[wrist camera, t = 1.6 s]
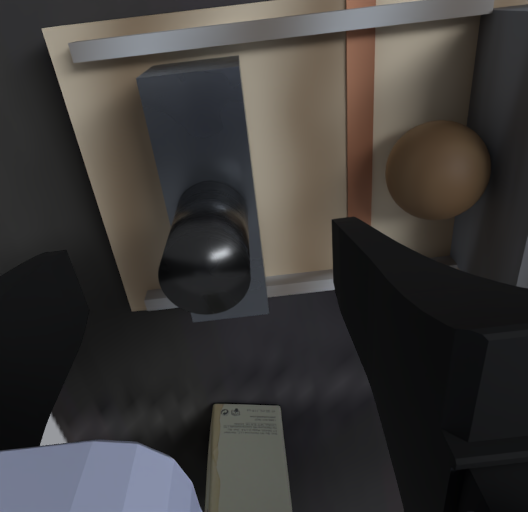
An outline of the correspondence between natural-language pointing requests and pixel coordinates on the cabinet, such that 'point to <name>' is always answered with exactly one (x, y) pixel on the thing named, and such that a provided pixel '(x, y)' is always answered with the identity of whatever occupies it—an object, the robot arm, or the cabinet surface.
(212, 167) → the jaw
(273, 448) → the skincare box
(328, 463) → the cabinet surface
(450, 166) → the press
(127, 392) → the cabinet surface
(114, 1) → the cabinet surface
